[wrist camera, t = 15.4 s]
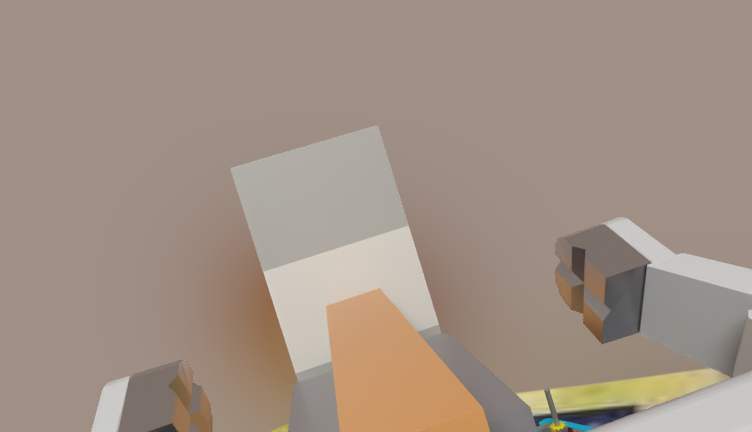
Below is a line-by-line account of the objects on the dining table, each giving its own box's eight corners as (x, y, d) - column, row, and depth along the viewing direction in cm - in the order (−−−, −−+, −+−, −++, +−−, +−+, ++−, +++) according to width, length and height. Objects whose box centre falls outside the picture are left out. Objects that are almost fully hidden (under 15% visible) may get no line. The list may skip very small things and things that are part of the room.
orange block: (393, 618, 12) (342, 458, 12) (345, 367, 32) (325, 305, 32) (530, 563, 13) (482, 407, 12) (398, 348, 32) (379, 287, 32)
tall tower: (359, 572, 34) (230, 168, 33) (348, 479, 46) (252, 180, 45) (498, 517, 35) (377, 124, 34) (452, 441, 47) (361, 147, 46)
